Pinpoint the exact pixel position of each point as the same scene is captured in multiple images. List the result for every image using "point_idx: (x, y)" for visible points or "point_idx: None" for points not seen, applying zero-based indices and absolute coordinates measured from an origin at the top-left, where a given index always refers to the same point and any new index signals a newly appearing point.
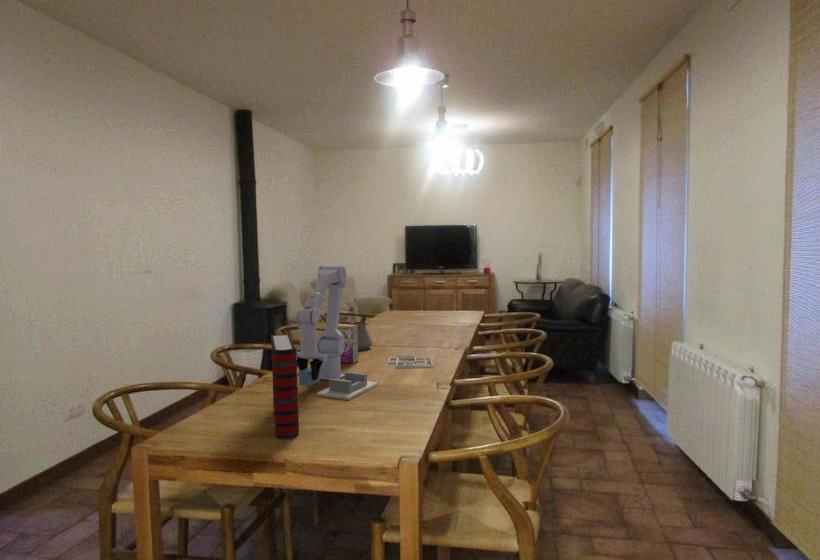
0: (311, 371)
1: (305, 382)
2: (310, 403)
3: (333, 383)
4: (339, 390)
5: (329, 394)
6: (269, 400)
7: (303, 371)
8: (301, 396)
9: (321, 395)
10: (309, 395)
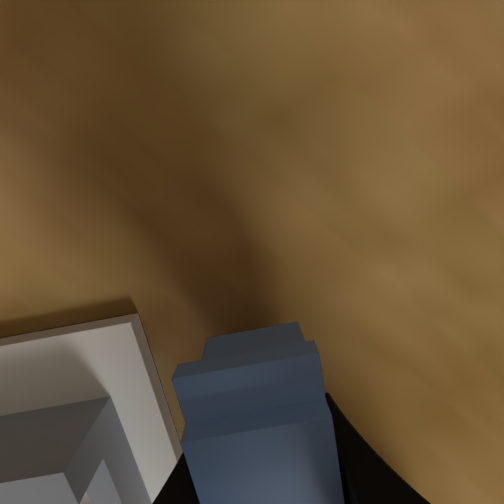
0: (200, 490)
1: (234, 349)
2: (26, 172)
3: (39, 451)
4: (24, 418)
5: (33, 343)
6: (335, 34)
7: (262, 435)
8: (211, 247)
9: (100, 321)
10: (185, 291)
